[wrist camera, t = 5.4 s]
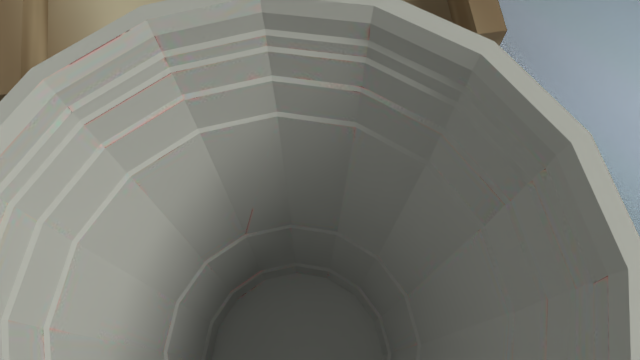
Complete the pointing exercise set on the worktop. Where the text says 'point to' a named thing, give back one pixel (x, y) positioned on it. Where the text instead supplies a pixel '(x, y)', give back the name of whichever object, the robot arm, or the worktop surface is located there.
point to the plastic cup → (304, 195)
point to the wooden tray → (112, 3)
